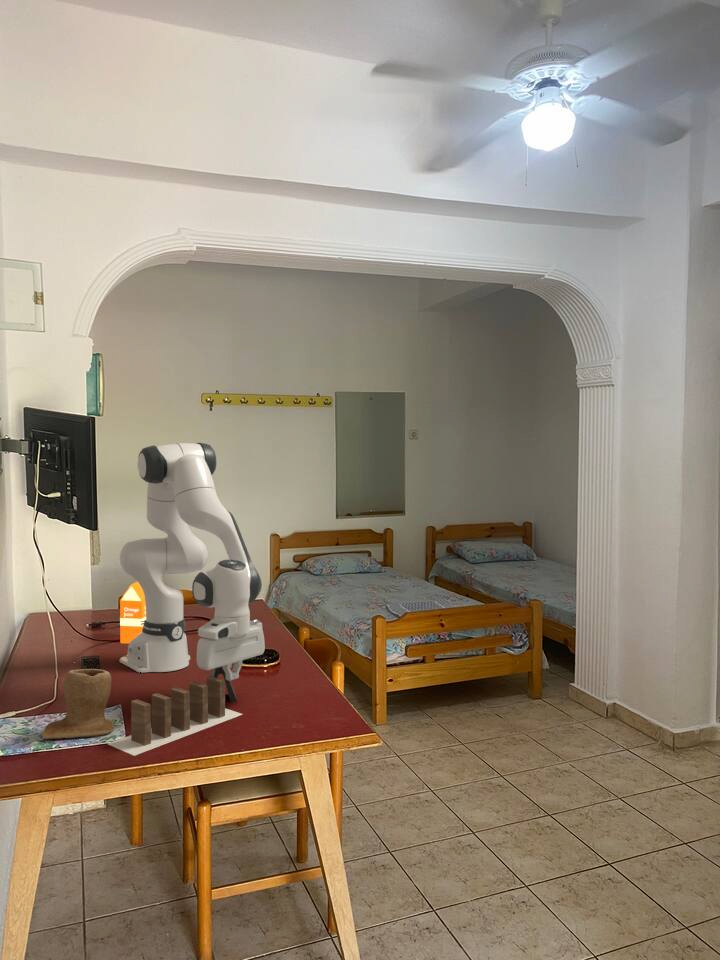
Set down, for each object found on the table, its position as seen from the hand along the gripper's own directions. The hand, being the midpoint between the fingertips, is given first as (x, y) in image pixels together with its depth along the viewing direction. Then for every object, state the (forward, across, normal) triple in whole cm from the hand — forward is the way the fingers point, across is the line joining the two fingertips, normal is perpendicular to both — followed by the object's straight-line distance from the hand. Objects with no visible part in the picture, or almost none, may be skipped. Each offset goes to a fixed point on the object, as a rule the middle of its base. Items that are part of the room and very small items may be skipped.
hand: (232, 679), depth 193 cm
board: (+9, +17, 0) cm, 19 cm away
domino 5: (+8, +5, 0) cm, 9 cm away
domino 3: (+8, +16, 0) cm, 18 cm away
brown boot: (+9, +32, -17) cm, 37 cm away
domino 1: (+8, +27, 0) cm, 28 cm away
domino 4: (+8, +11, 0) cm, 13 cm away
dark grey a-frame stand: (+9, -3, -8) cm, 13 cm away
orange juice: (+8, -26, -76) cm, 81 cm away
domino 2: (+8, +22, 0) cm, 23 cm away
